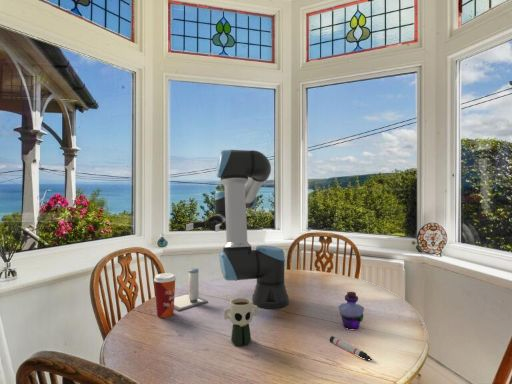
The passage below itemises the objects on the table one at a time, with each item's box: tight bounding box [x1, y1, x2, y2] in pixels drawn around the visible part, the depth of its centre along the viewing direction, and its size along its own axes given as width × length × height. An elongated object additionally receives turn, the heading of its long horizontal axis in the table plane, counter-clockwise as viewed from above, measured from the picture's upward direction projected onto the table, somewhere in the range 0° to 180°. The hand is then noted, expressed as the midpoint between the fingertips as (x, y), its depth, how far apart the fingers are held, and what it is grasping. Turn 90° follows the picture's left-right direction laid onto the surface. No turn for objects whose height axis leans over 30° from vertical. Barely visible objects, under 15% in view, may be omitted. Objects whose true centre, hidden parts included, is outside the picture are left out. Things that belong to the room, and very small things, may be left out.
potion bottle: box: [338, 291, 365, 330], centre depth 117 cm, size 9×9×12 cm
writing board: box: [174, 292, 209, 312], centre depth 141 cm, size 14×14×1 cm
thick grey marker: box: [187, 267, 200, 303], centre depth 140 cm, size 4×4×14 cm
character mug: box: [223, 297, 259, 346], centre depth 106 cm, size 11×7×13 cm, turn 106°
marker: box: [329, 335, 373, 361], centre depth 100 cm, size 15×2×2 cm, turn 34°
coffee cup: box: [153, 272, 177, 319], centre depth 128 cm, size 8×8×15 cm
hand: (201, 228), depth 149 cm, fingers open, 13 cm apart
